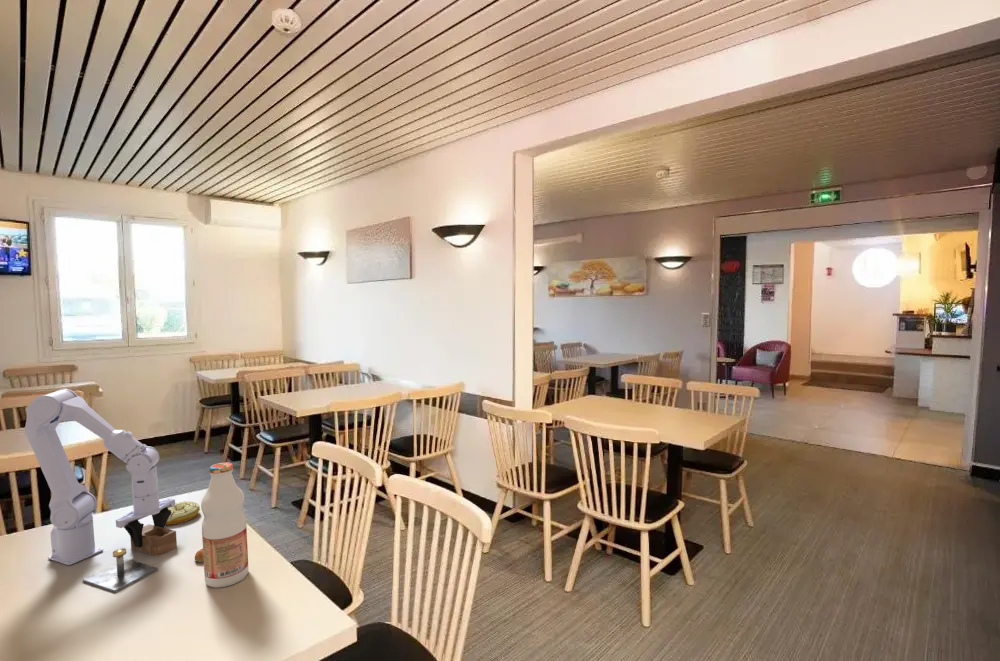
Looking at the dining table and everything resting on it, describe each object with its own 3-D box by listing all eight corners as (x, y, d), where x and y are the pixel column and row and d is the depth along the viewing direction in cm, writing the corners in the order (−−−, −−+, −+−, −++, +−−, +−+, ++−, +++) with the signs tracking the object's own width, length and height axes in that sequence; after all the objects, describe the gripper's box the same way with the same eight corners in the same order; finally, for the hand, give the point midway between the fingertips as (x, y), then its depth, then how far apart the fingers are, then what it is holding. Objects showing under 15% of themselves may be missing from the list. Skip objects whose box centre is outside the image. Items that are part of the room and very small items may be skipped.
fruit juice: (195, 585, 118) (188, 470, 116) (226, 564, 127) (220, 457, 125) (228, 591, 116) (222, 474, 114) (257, 569, 125) (252, 460, 123)
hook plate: (82, 581, 120) (80, 556, 120) (126, 560, 129) (125, 537, 129) (114, 592, 116) (112, 566, 115) (158, 570, 125) (156, 545, 125)
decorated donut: (151, 521, 152) (151, 509, 152) (189, 508, 161) (188, 496, 161) (168, 529, 147) (167, 517, 146) (206, 515, 156) (205, 504, 155)
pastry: (197, 568, 126) (196, 553, 126) (192, 557, 131) (191, 543, 131) (238, 555, 132) (237, 541, 132) (232, 545, 138) (231, 532, 137)
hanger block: (131, 548, 136) (130, 532, 135) (149, 540, 140) (148, 524, 140) (158, 556, 132) (157, 539, 131) (176, 547, 136) (175, 530, 136)
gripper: (126, 506, 127) (130, 557, 128) (181, 485, 141) (184, 532, 142) (109, 502, 130) (112, 552, 131) (164, 482, 143) (167, 527, 144)
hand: (148, 541), depth 137 cm, fingers closed on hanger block, 5 cm apart
